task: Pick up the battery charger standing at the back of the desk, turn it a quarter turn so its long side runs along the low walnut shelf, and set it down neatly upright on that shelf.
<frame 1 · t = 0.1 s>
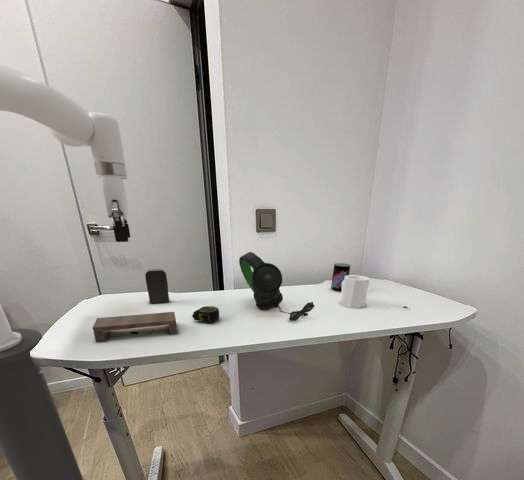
hand: (123, 239, 86), 22 cm above the table, tool pointing down, fingers open, 9 cm apart
tape measure: (205, 320, 89), on the table
supplement container: (338, 290, 124), on the table
shelf: (138, 332, 80), on the table
headset: (271, 310, 99), on the table
mug: (349, 303, 108), on the table
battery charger: (159, 302, 104), on the table
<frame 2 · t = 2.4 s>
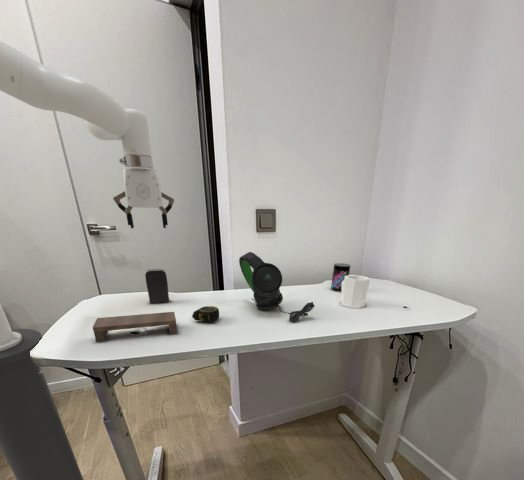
hand: (148, 227, 92), 24 cm above the table, tool pointing down, fingers open, 9 cm apart
nothing on the table moved.
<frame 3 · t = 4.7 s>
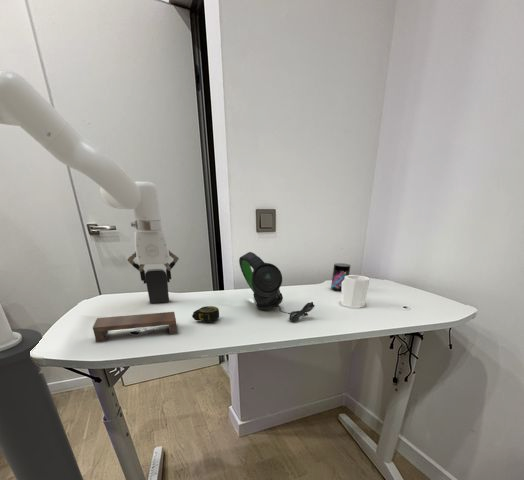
hand: (156, 281, 100), 7 cm above the table, tool pointing down, fingers closed on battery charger, 7 cm apart
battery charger: (159, 302, 104), on the table, touching gripper
everything else where it was.
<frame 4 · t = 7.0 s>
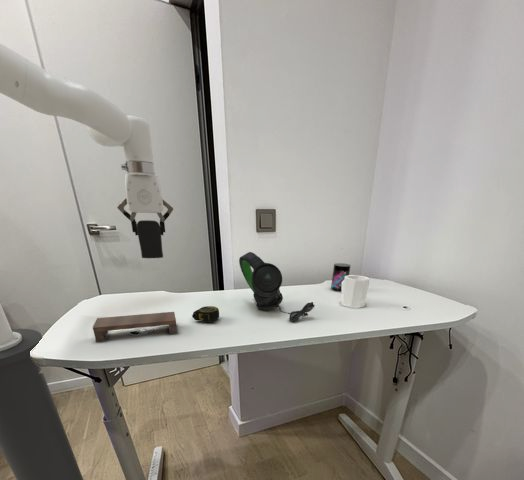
hand: (149, 234, 93), 22 cm above the table, tool pointing down, fingers closed on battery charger, 7 cm apart
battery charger: (152, 258, 96), point 15 cm above the table, touching gripper
everything else where it was.
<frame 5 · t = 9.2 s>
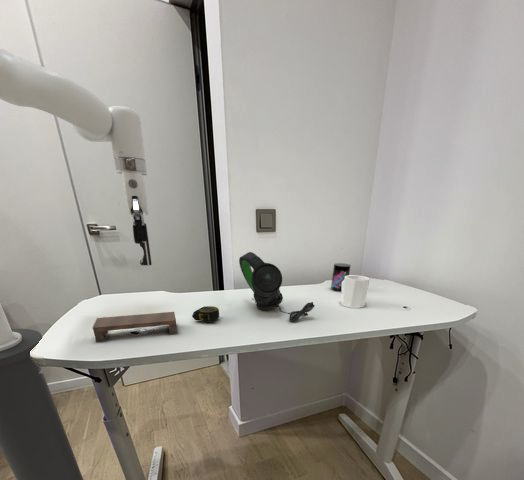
hand: (141, 238, 84), 22 cm above the table, tool pointing down, fingers closed on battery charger, 7 cm apart
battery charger: (145, 264, 88), point 15 cm above the table, touching gripper
everything else where it was.
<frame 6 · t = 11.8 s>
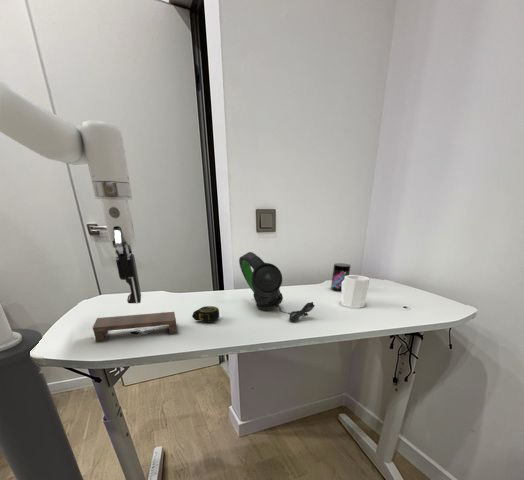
hand: (127, 272, 72), 16 cm above the table, tool pointing down, fingers closed on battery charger, 7 cm apart
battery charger: (133, 301, 75), point 9 cm above the table, touching gripper
everything else where it was.
when the fingers open (11 cm above the table, at t = 13.6 s): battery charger stays where it is, resting on shelf.
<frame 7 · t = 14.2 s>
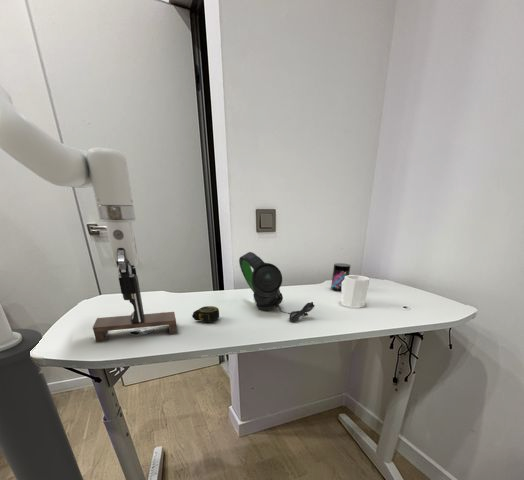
hand: (130, 288, 74), 12 cm above the table, tool pointing down, fingers open, 9 cm apart
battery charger: (136, 319, 78), point 4 cm above the table, touching shelf
everything else where it was.
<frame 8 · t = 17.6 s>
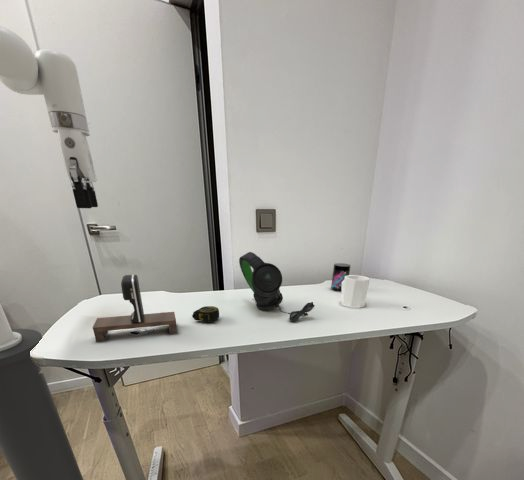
hand: (88, 207, 75), 30 cm above the table, tool pointing down, fingers open, 9 cm apart
nothing on the table moved.
at the end: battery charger inside the target area on the shelf (0.0 cm from its centre), point 3.8 cm above the shelf's base; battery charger tilted 0°; the gripper is holding nothing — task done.
